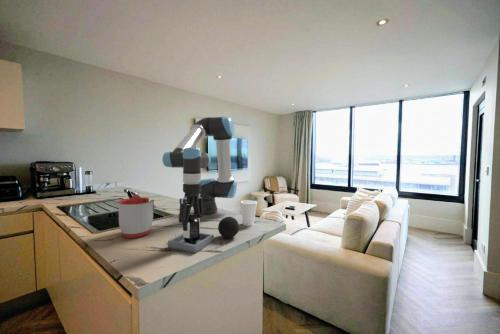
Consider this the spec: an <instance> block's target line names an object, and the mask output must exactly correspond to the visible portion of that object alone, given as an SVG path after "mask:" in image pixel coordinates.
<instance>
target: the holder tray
mask: <svg viewBox="0 0 500 334" xmlns="http://www.w3.org/2000/svg"><path fill="white" fill-rule="evenodd" d="M214 235H215V234H211V233H205V232H200V239H199V240H198V241H197V242H193V243H188V242H185V241H184V237H183V233H181V234H179V235H177V236H175V237H173V238H171V239H169V240H168V241H167V248H168V249H172V250H176V251H181V252H186V253H191V254H194V255H195V254H197V253H199V252H201V251H202V250H203V249H204V248H206V247H208V246H210V245H211V244H212V243H213V242H214V241H215V236H214Z"/></svg>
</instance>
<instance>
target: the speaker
mask: <svg viewBox="0 0 500 334" xmlns="http://www.w3.org/2000/svg"><path fill="white" fill-rule="evenodd" d="M217 230H218V232H219V234H220V236H221V237H222V238H225V239H231V238H234V237H235V236H236V235H237V234H238V233H239V231H240V226H239V221H238V220H237V219H236V218H234V217H232V216H225V217H223V218H222V219H220V221H219V223H218V226H217Z"/></svg>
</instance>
